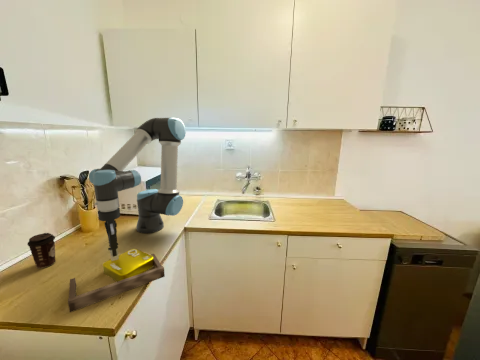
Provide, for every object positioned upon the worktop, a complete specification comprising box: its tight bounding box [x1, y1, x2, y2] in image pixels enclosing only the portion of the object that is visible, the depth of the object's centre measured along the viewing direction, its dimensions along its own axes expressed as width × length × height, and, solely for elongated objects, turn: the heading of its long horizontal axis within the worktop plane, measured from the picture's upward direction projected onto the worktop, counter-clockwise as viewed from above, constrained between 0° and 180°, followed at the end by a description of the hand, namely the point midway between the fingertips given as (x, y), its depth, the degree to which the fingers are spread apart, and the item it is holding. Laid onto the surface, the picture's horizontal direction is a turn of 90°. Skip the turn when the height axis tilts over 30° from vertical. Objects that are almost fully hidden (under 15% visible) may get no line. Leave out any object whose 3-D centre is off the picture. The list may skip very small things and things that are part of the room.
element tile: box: [102, 248, 155, 282], centre depth 90 cm, size 15×15×5 cm
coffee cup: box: [27, 232, 56, 269], centre depth 91 cm, size 9×8×13 cm
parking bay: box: [67, 253, 165, 313], centre depth 82 cm, size 30×14×4 cm, turn 126°
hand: (115, 261), depth 90 cm, fingers closed
